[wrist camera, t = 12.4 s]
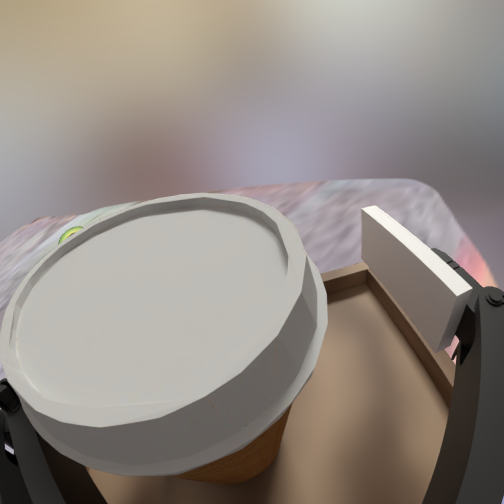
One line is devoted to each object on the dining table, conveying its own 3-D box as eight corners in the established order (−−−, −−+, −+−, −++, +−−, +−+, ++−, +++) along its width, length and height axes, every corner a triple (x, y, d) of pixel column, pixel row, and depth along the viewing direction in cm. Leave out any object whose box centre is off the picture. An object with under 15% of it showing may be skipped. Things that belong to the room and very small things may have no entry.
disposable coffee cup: (340, 406, 14) (380, 212, 7) (244, 541, 8) (92, 570, 1) (213, 347, 19) (158, 180, 12) (119, 441, 13) (-21, 299, 6)
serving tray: (84, 554, 6) (57, 549, 4) (112, 342, 23) (99, 323, 21) (492, 480, 6) (515, 467, 5) (370, 282, 23) (371, 259, 22)
